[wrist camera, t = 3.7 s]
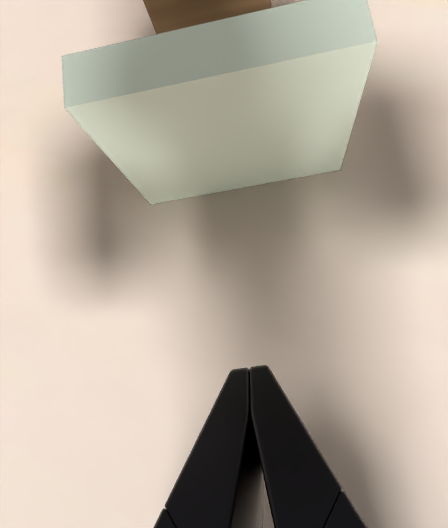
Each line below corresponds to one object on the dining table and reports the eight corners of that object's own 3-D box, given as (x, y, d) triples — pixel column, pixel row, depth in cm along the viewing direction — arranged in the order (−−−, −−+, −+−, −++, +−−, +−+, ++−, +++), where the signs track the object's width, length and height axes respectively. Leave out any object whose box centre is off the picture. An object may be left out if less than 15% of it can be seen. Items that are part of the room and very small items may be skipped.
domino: (274, 86, 23) (267, -82, 14) (185, 105, 23) (124, -46, 15) (268, 55, 23) (258, -126, 14) (181, 73, 24) (121, -89, 15)
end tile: (340, 170, 21) (377, 41, 12) (150, 204, 22) (64, 107, 14) (332, 135, 22) (363, -14, 13) (147, 170, 23) (61, 56, 14)
